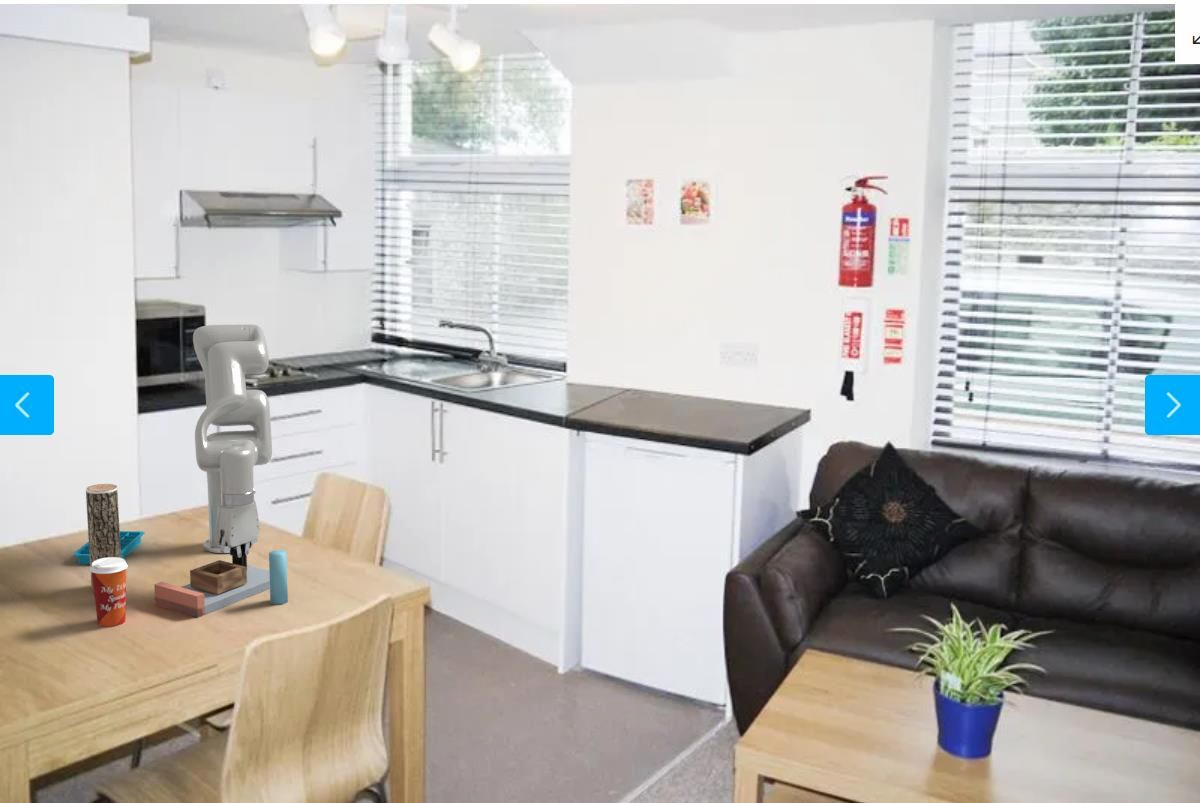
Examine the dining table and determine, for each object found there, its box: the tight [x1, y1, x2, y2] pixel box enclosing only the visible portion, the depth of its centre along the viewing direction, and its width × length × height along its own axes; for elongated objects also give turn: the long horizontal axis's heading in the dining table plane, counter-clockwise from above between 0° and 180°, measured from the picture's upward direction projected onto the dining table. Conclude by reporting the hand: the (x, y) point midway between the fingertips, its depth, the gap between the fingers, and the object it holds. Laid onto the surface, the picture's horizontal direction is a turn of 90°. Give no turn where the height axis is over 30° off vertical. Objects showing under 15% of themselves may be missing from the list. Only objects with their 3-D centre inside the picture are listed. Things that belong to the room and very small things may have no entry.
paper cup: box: [89, 557, 129, 628], centre depth 244 cm, size 8×8×14 cm
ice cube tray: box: [73, 530, 145, 565], centre depth 290 cm, size 12×20×3 cm, turn 3°
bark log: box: [85, 483, 121, 591], centre depth 263 cm, size 7×7×25 cm
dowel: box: [268, 549, 289, 606], centre depth 260 cm, size 4×4×12 cm
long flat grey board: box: [153, 564, 270, 618], centre depth 264 cm, size 27×14×5 cm, turn 151°
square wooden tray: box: [189, 559, 247, 594], centre depth 263 cm, size 9×9×4 cm
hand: (239, 570), depth 269 cm, fingers closed
